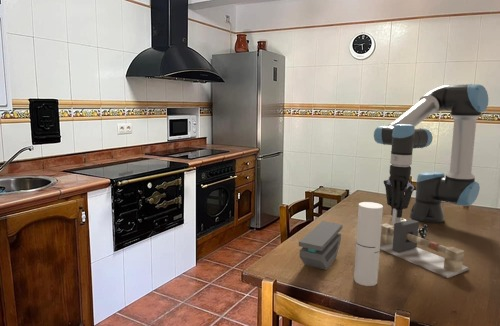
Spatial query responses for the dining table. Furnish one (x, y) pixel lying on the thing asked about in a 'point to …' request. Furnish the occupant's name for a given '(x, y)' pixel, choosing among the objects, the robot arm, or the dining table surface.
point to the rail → (426, 253)
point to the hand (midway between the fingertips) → (395, 224)
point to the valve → (420, 230)
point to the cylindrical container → (368, 243)
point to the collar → (404, 235)
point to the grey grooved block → (321, 245)
